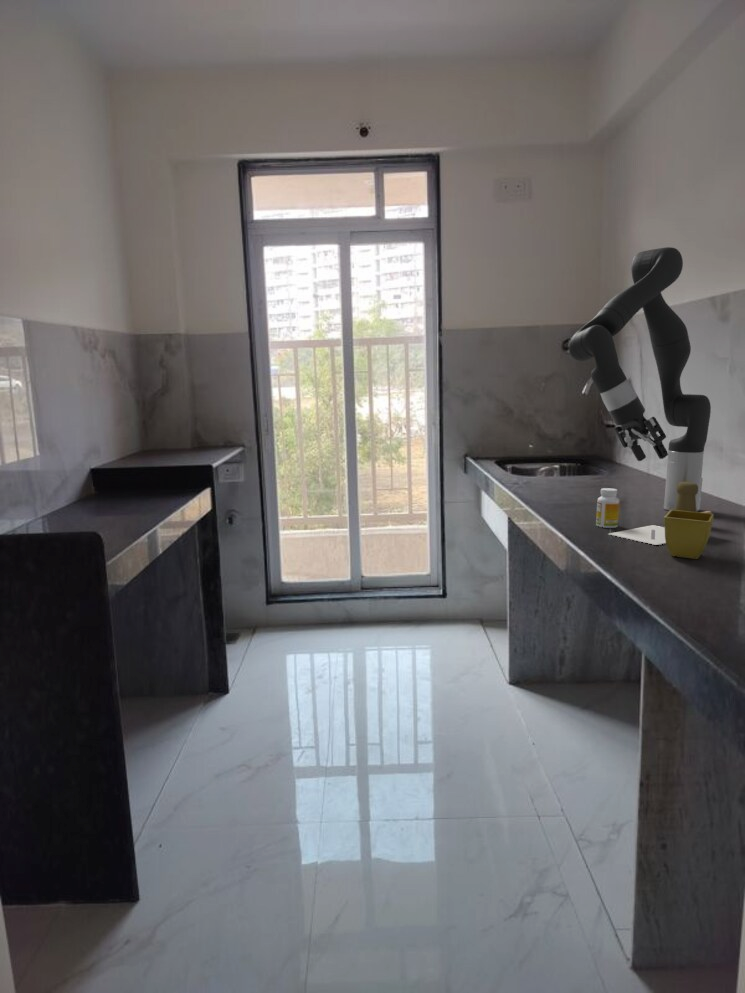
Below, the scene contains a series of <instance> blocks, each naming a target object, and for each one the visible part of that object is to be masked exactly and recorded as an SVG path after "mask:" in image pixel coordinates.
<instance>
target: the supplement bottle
mask: <svg viewBox="0 0 745 993" xmlns="http://www.w3.org/2000/svg"><path fill="white" fill-rule="evenodd" d="M600 495H601V496H599V497H598V498H597V502H596V520H595V525H596V526H597V527H598V526H599V528H602V527H603V529H604V528H605V529H615V528H618V526H619V517H620V516H619V515H620V499H619V498H618V497H617V496H618V489H616V488H612V487H611V488H608V487H603V488H601V489H600Z"/></svg>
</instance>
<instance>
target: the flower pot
mask: <svg viewBox="0 0 745 993" xmlns="http://www.w3.org/2000/svg"><path fill="white" fill-rule="evenodd" d="M700 512H701V511H700ZM700 512H699V511H698V512H690V511H680V510H670V511H669V510H668V512H667V514H665V515H664V517H663V518H664V520H663V521H664V527H665V540H666V544H665V545H666V547H667V549H668V551H669V553H670V555H671V556H672V557H675V556H677V557H679V558H686V559H691V560H692V559H693V560H698V559H699V558H700V556H701V555H702V553H703V551H704V549H705V547H706V545H707V543H708V540H709V539H710V535H711V532H712V526H713V521H714V517H715V516H714V515H715V514H714V513H712V514H710V513H700ZM677 557H676V558H677Z"/></svg>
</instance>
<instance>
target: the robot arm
mask: <svg viewBox="0 0 745 993" xmlns="http://www.w3.org/2000/svg"><path fill="white" fill-rule="evenodd" d="M683 263H684V262H683V257H682V254H681V252H680V251H679V250H678V249H677V248H676V247H670V246H667V247H666V246H665V247H661V248H654V249H649V250H648V249H647V250H643V251H640V252H638V253H636V254H635V255H634V256H633V259H632V261H631V277H632V281H633V282H632V283H633V284H632V285H630V286H629V287H627V288H625V289H624V290H622V291H620V292H619V293H617V294H616V295H615V296H613V297H612V298H611V299H610V300H608V302H606V304H605V305H604V306H603V307H602V308H601V309H600V310H599V311H598V312H597V314H596V315H595V316H594V317H593V318H592V319H591V320H589V321H588V322H586V324H584V326H582V327H581V328H580V329H579V330H577V331H576V332H575V333H574V334H573V335H572V337H571V339H570V340H569V343H568V353H569V354H570V356H571V357H572V358H573V359H574V360H575V361H580V362H584V361H585V362H586V361H589V360H591V359H593V358H594V361H595V365H596V367H594V368H593V369H592V370H591V373H590V377H591V380H592V382H593V383H594V385H595V387H596V389H597V391H598V393H599V394H600V397H601V400H602V402H603V404H604V406H605V408H606V409H607V412H608V413H609V415H610V416H611V419H612V420H613V422H614V424H615V425H616V426H615V427H614V429H613V430H614V431H615V434H616V435H617V437H618V439H619V442H620V444H621V445H622V447H623V448H625V449H626V448H628V449H629V450H631V451H632V454H633V455H634V457H635V459H636V460H637V461H638V462H642V461H643V460H645V459H646V457H647V456H646V454H645V452H644V450H643V448H642V446H641V445H640V444H639V440H643V441H644V442H647V443H649V444H650V445H651V446H652V448H653V449H654V451H655V454H656V455H657V456H658V459H659V460H663V459H664V458H666V457H667V464H666V474H665V475H666V476H665V478H666V479H665V489H664V490H665V491H664V501H663V502H664V503H663V509H664V510H666V511H668V512H669V511H670V510H675V506H676V502H677V497H678V493H677V490H676V487H677V485H678V483H680V482H692V483H695V484H697V486H698V493H697V494H696V495H695V498H696V512H699V511H700V509H701V498H702V490H703V488H702V487H703V477H702V475H703V474H702V473H703V464H704V462H703V461H704V454H705V453H704V452H705V446H706V443H707V439H708V435H709V434H708V432H709V425H710V420H711V413H712V411H711V409H712V408H711V407H712V406H711V402H710V399H709V397H708V396H707V395H704V394H691V393H690V394H689V393H688V394H686V393H685V394H684V393H683V391H682V387H681V377H682V373H683V371H684V369H685V367H686V365H687V363H688V360H689V358H690V355H691V343H690V335H689V333H688V329H687V326H686V324H685V323H684V321H683V320H682V318H681V317H680V316H679V315H678V314H677V313H676V312H675V311H674V310H673V309H672V308H671V307H670V306H669V304H668V303H667V302H666V300H665V299H664V297H663V294H662V292H663V291H665V290H666V289H668V287H670V286H671V285H672V284H674V283H675V282H676V281H677V280H678V278H679V277H680V275H681V274H682V271H683V267H684V266H683V265H684V264H683ZM641 309H642V310H643V314H644V317H645V321H646V324H647V329H648V332H649V334H648V335H649V339H650V343H651V348H652V351H653V352H652V353H653V356H654V359H655V360H654V361H655V363H656V366H657V372H658V377H659V382H660V388H661V397H662V405H663V410H664V411H663V412H664V415H665V417H664V418H665V419H666V421H667V423H668V424H669V425H670V426H673V427H678V428H679V427H680V428H683V427H684V428H687V429H686V432H685V434H684V435H682V436H680V437H678V438H674V439H671V440H670V441H668V442H669V443H668V449H666V447H665V445H664V443H663V440H665V439H666V438H667V435H666V433H665V432H664V430H663V428H662V427H661V425H660V424H659V421H658V420H657V418H656V417H655V416H652V417H650V418H648V419H647V418H646V417H645V416H644V414H645V412H646V409H645V407H644V405H643V403H642V401H641V400H640V398H639V396H638V394H637V392H636V391H635V389H634V386H633V385H632V384H631V382H630V381H629V380H628V378H627V376H626V374H625V372H624V371H623V369H622V367H621V366H620V363H619V358H618V355H617V354H618V353H617V350H616V345H615V342H614V338H613V337H615V336H616V335H618V334H619V333H620V332H621V331H622V330H623V328H625V326H626V325H627V324H628V323H629V322H630V320H632V319H633V317H634V316H635V315H636V314H637V313H638V312H639V311H640V310H641ZM657 432H658V434H657ZM667 450H668V451H667Z"/></svg>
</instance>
